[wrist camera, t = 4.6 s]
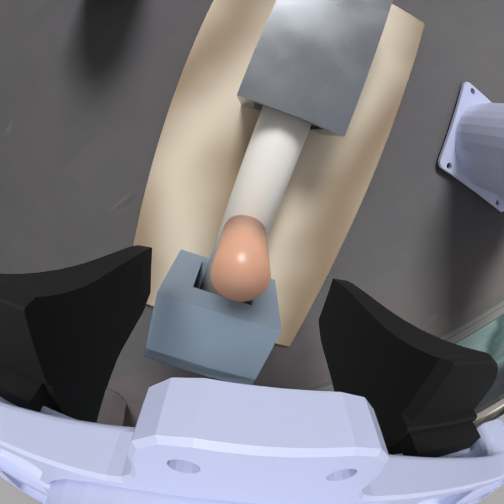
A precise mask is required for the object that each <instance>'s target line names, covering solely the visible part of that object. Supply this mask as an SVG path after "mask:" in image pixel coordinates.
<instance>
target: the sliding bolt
mask: <svg viewBox="0 0 504 504" xmlns="http://www.w3.org/2000/svg"><path fill="white" fill-rule="evenodd" d="M311 125H312V124H311V123H308V122H306V121H303V120H301V119H298V118H296V117H293V116H291V115H288V114H285V113H283V112H280V111H277V110H274V109H272V108H269V107H266V106H263V107H262V110H261V112H260V115H259V118H258V120H257V123H256V126H255V128H254V131H253V134H252V136H251V139H250V142H249V144H248V147H247V150H246V153H245V155H244V158H243V161H242V164H241V167H240V169H239V172H238V175H237V178H236V181H235V184H234V186H233V189H232V192H231V195H230V198H229V201H228V204H227V207H226V210H225V213H224V216H223V218H222V221H221V224H220V227H219V230H218V233H217V236H216V239H215V243H214V246H213V249H212V252H211V255H210V258H209V261H208V264H207V267H206V270H205V273H204V277H203V280H202V283H201V286H200V289H201V290H204V291H207V292H210V293H213V294H217V295H220V296H223V297H225V298H227V299H230V300H233V301H238V302H244V301H250V300H253V299H255V298H257V297H259V296H260V295H262V294H263V293H264V292H265V291H266V289H267V288H268V286H269V283H270V280H271V271H270V262H269V253H268V245H267V237H268V234H269V232H270V229H271V227H272V224H273V222H274V219H275V217H276V214H277V212H278V209H279V207H280V204H281V202H282V199H283V196H284V194H285V191H286V189H287V186H288V184H289V181H290V179H291V176H292V174H293V171H294V168H295V166H296V163H297V161H298V158H299V156H300V153H301V151H302V148H303V145H304V143H305V140H306V138H307V135H308V133H309V130H310V127H311Z"/></svg>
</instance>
